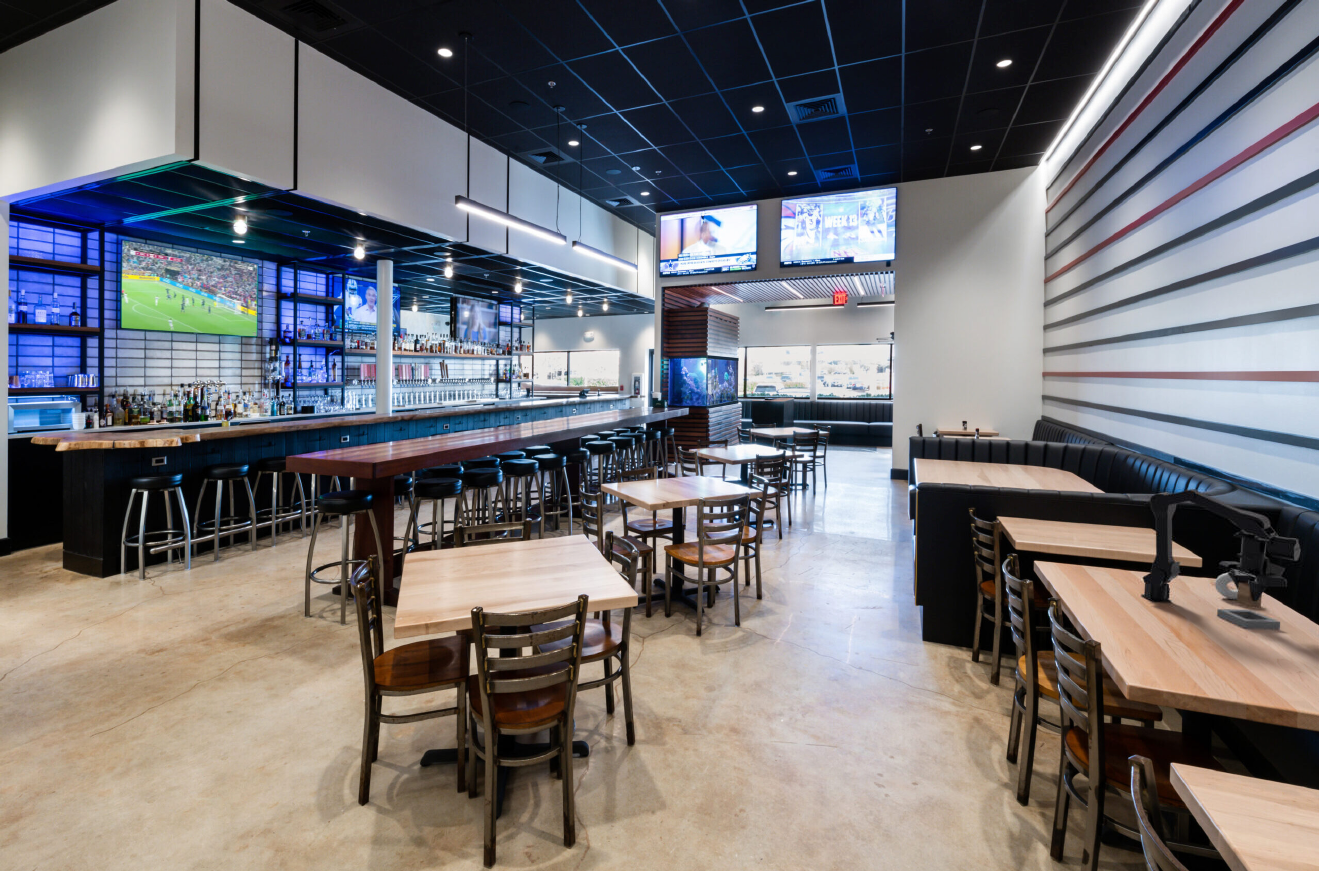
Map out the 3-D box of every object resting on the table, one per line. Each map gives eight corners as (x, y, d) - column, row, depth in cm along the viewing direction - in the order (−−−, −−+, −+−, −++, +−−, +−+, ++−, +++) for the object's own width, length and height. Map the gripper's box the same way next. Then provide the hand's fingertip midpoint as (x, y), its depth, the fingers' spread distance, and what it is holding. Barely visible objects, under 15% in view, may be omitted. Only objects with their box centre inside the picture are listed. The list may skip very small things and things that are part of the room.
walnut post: (1247, 607, 197) (1249, 586, 197) (1236, 602, 201) (1238, 582, 201) (1260, 607, 197) (1262, 586, 197) (1249, 603, 201) (1251, 582, 201)
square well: (1244, 628, 195) (1245, 621, 195) (1217, 616, 205) (1217, 609, 205) (1279, 629, 194) (1280, 622, 194) (1250, 616, 205) (1250, 609, 204)
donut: (1214, 598, 223) (1216, 571, 222) (1213, 595, 226) (1215, 569, 225) (1252, 603, 217) (1254, 576, 216) (1249, 600, 220) (1251, 574, 219)
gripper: (1307, 561, 188) (1303, 610, 189) (1253, 545, 206) (1249, 589, 208) (1269, 560, 189) (1265, 609, 190) (1219, 545, 207) (1215, 589, 209)
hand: (1249, 598), depth 199 cm, fingers closed on walnut post, 4 cm apart
